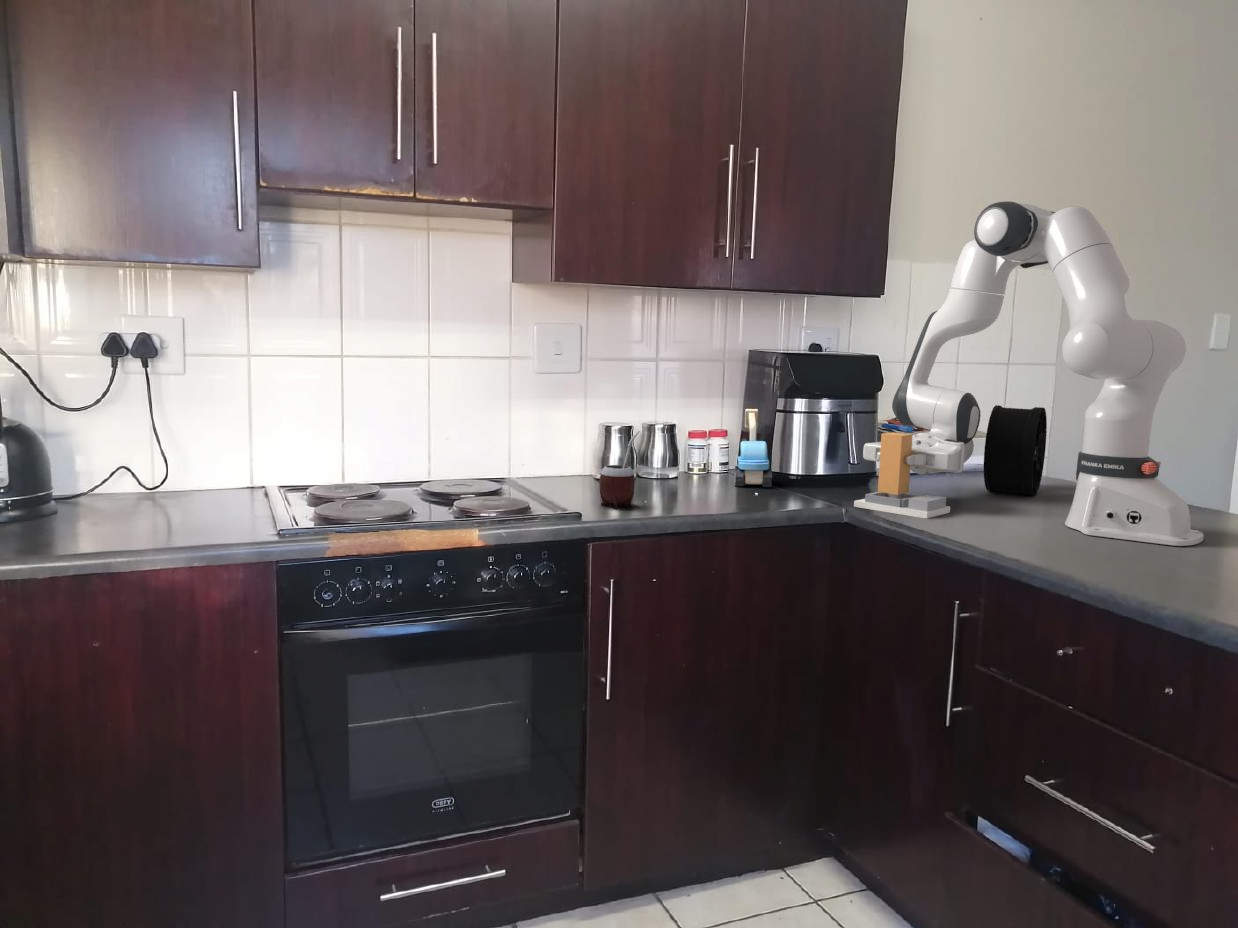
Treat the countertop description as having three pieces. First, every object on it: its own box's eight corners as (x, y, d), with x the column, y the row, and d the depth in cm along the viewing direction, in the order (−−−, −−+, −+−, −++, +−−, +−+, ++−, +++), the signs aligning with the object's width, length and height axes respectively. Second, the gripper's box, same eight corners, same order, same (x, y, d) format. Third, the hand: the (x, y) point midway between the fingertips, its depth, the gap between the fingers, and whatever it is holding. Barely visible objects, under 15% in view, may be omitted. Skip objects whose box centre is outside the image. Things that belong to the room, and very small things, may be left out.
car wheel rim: (1029, 501, 203) (1037, 410, 200) (980, 496, 208) (987, 407, 206) (1041, 489, 220) (1049, 405, 217) (996, 485, 225) (1003, 402, 222)
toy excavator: (768, 478, 227) (771, 408, 225) (772, 489, 211) (776, 414, 208) (732, 477, 228) (735, 407, 226) (734, 488, 212) (737, 413, 209)
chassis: (949, 512, 187) (951, 496, 187) (926, 518, 180) (927, 502, 180) (878, 501, 199) (879, 486, 198) (853, 506, 191) (854, 491, 191)
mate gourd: (596, 508, 183) (598, 433, 181) (602, 501, 191) (603, 429, 188) (634, 510, 182) (636, 434, 180) (638, 503, 190) (640, 430, 188)
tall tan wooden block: (908, 492, 191) (912, 434, 189) (897, 494, 187) (901, 435, 186) (888, 489, 194) (892, 432, 192) (877, 491, 190) (881, 433, 189)
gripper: (882, 434, 205) (849, 438, 196) (972, 443, 191) (941, 448, 181) (880, 462, 206) (847, 467, 197) (969, 473, 192) (938, 480, 182)
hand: (893, 458), depth 189 cm, fingers closed on tall tan wooden block, 4 cm apart
